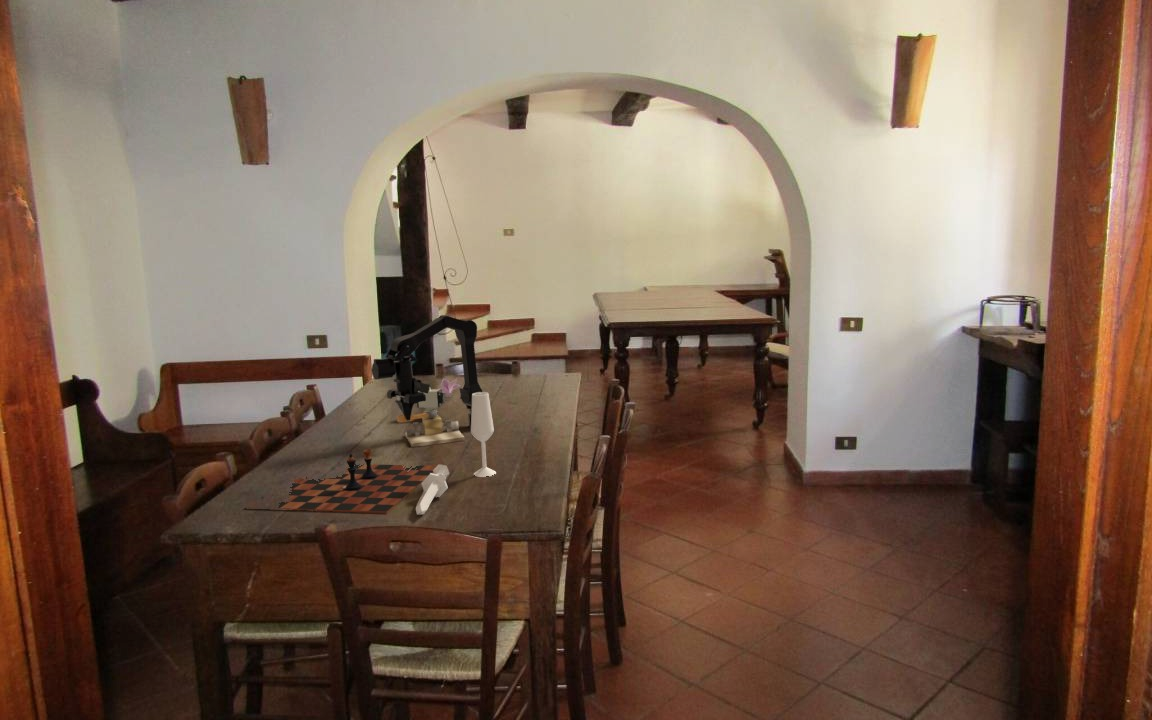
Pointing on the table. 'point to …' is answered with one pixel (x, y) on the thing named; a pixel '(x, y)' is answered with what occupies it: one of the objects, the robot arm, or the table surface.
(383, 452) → the table surface
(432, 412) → the valve lever
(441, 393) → the pneumatic valve
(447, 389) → the lily
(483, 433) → the champagne flute
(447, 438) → the valve plank
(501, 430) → the table surface
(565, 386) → the table surface
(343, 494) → the chessboard
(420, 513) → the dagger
